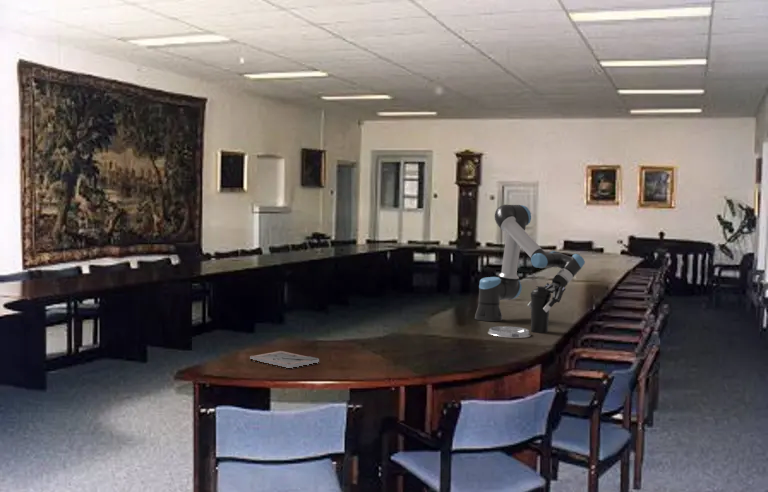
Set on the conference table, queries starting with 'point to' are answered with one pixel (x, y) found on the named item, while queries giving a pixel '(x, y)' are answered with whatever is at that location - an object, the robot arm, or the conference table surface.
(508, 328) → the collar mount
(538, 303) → the water bottle
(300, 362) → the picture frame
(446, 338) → the conference table surface
